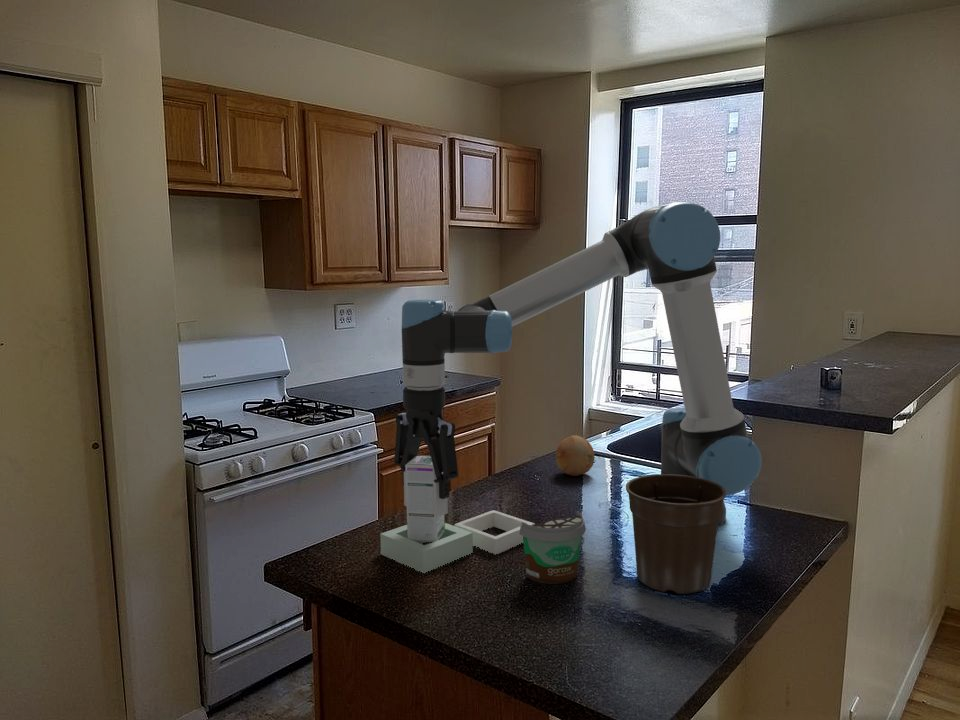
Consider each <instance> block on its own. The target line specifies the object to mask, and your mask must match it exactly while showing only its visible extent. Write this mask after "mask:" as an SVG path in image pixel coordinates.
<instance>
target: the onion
mask: <svg viewBox="0 0 960 720" xmlns="http://www.w3.org/2000/svg"><path fill="white" fill-rule="evenodd" d="M555 461H556V464H557V467H558V468H559V469H560V471H562V472H563V473H565V474H566V475H569V476H573V477H577V476H580V475H581V476H582V475H584V474H586V473H588V472H589V471H590V470H591V469H592V467H593V466H594V463H595V452H594V448H593V446H592V444H591V443H590V442H589V440H587V439H586V438H585V437H582V436H580V435H577V434H576V435H575V434H574V435H570V436H568V437H566V438H565V439H562V440H561V441H560V443H559V444H558V446H557V448H556V449H555Z"/></svg>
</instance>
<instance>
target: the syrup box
mask: <svg viewBox="0 0 960 720" xmlns="http://www.w3.org/2000/svg"><path fill="white" fill-rule="evenodd" d="M405 472H406V506H405V507H406V525H407V536H408V539H410V540H413V541H422V542H427V543H430V542H435V541H437V540H439V538H440V537H441V536H442V534H443V533H444V531H445V523H446V519H445V518H446V517H445V515H446V514H444V515H442V516H439V517H435V516H434V492H433V481H434V480H436V479H437V478H436V474H435V471H434V467H433V463H432V460H431V456H430V455H417V456H415V457H414V458H413V459H412V460H410V461H409V462H408V463H407V464H406V465H405ZM442 474H443V472H442Z"/></svg>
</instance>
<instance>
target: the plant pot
mask: <svg viewBox="0 0 960 720" xmlns="http://www.w3.org/2000/svg"><path fill="white" fill-rule="evenodd" d="M625 490H626V493H627V494H628V501H629V511H630V512H631V513H632V514H631V515H632V516H631V517H632V525H633V527H632V528H633V539H634V540H633V541H634V550H635V551H634V553H635V562H636V563H635V564H636V566H635V567H636V576H637V579H638V580H639V582H640V583H642V584H643V585H645V586H646V587H649V588H650V589H652V590H656V591H659V592H662V593H666V592H667V591H673V592H674V593H676V594H678V595H680V594H683V595H684V594H685V595H687V594H694V593H699V592H701V591H703V590H706V589H707V588H708V587H709V586H711V581H712V574H713V568H714V567H713V565H714V558H715V550H716V549H715V548H716V541H717V534H718V533H717V532H718V527H719V526H718V519H719V518H720V516H721V510H722V503H723V500H725V498H726V497H727V495H726V490H725V488H724V487H722V486H721V485H719V484H717V483H715V482H712V481H710V480H707V479H703V478H699V477H693V476H686V475H674V474H661V473H660V474H657V473H656V474H647V475H642V476H639V477H635V478H632V479H630V480H629V481H627V483H625Z"/></svg>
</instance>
